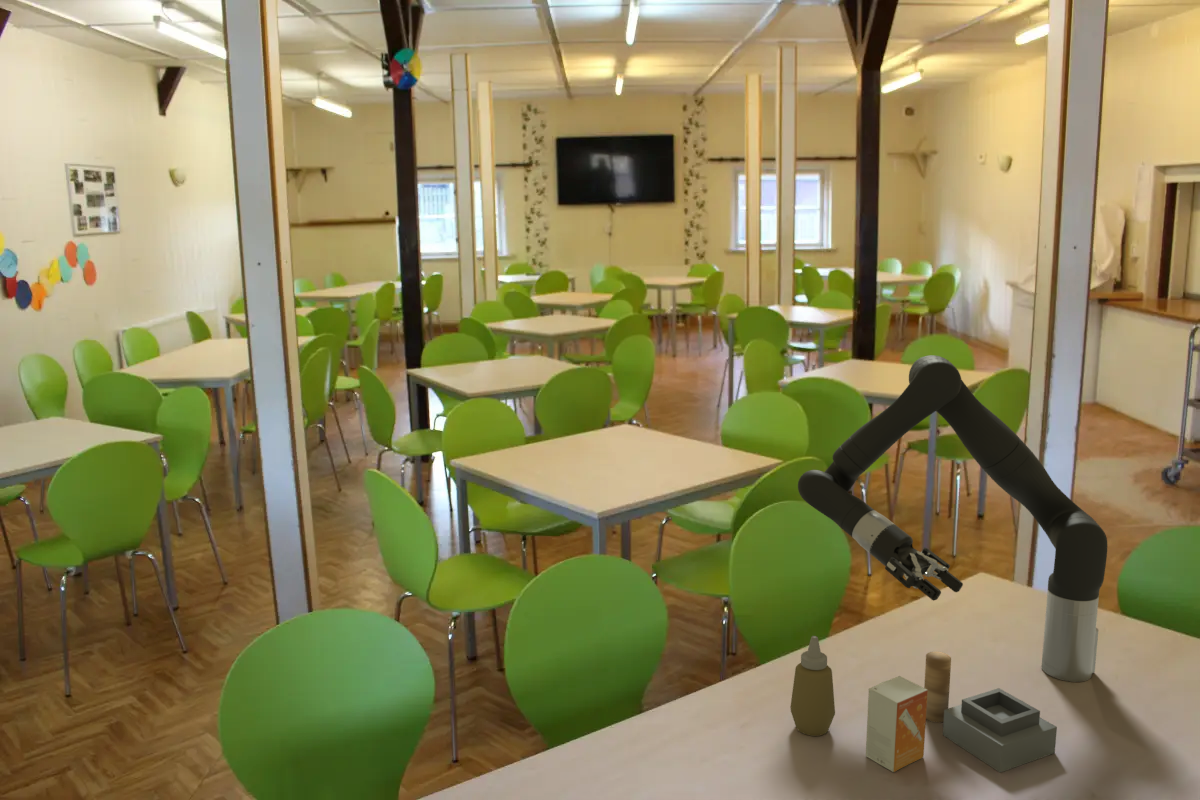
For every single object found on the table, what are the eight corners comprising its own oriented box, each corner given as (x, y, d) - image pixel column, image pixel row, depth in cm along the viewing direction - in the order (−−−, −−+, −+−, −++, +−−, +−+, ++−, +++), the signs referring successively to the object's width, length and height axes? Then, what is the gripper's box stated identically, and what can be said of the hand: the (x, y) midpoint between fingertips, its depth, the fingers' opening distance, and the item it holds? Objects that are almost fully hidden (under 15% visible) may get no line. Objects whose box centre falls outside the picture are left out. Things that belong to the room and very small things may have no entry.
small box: (893, 773, 162) (897, 703, 159) (864, 756, 167) (867, 687, 164) (925, 757, 166) (928, 689, 163) (895, 741, 171) (898, 674, 169)
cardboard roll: (935, 708, 182) (938, 649, 180) (952, 718, 178) (956, 659, 176) (917, 713, 180) (920, 654, 178) (934, 724, 176) (938, 664, 174)
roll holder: (995, 717, 178) (998, 680, 177) (1054, 752, 167) (1058, 713, 165) (942, 735, 173) (945, 697, 171) (1000, 772, 161) (1002, 732, 160)
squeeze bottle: (836, 720, 178) (839, 630, 175) (832, 743, 171) (835, 650, 167) (793, 713, 181) (795, 625, 177) (786, 736, 174) (788, 644, 170)
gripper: (871, 528, 181) (940, 583, 171) (909, 518, 191) (977, 570, 181) (853, 559, 184) (920, 615, 174) (891, 548, 194) (957, 600, 184)
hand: (949, 592), depth 177 cm, fingers open, 8 cm apart
